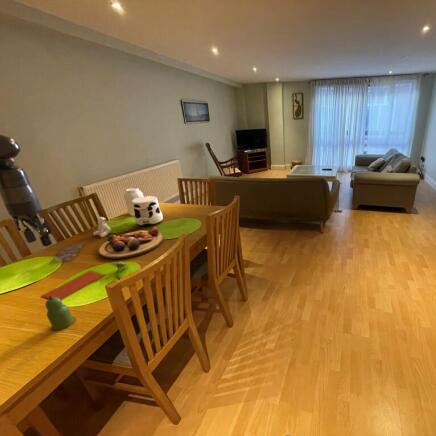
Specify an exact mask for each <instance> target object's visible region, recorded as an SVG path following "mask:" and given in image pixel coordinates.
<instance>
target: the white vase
mask: <svg viewBox="0 0 436 436" xmlns="http://www.w3.org/2000/svg"><path fill="white" fill-rule="evenodd" d="M139 197H144V193H143V192H142V191H141V190H140V189H139V188H138V187H131V188H127V189H126V190H125V193H124V194H123V198H124V202H125V205H126V208H127V212H128V215H129V216H132V217H135V212H134V209H133V205H132V200H134V199H136V198H139Z"/></svg>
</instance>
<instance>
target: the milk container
mask: <svg viewBox="0 0 436 436" xmlns="http://www.w3.org/2000/svg"><path fill="white" fill-rule="evenodd" d="M132 205H133V209H134V212H135V216H134V222H135V223H136V225H138V226H141V227H148V226H153V225H157V224H160V223H161V222H162V221H163V218H164V217H163V215H164V214H163V213H162V211H161V208H160V205H159V201H158V197H156V196H155V195H146V196H143V197H139V198H136V199H134V200H132Z"/></svg>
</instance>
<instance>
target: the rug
mask: <svg viewBox="0 0 436 436" xmlns="http://www.w3.org/2000/svg"><path fill="white" fill-rule="evenodd" d="M83 245H84V243H81V244H77V243H76V244H73V245H70V246H68V245H67V246H63V247H62V248H61V249H59V251H57V254H56V256H54V257H53V259H51V261H50V262H49V265H50V264H53V262H55V263H58V262H59V263H60V262H64V261H71V260H74V257H76V256H77V254H78V253H79V252H80V250H81V248H82V247H83ZM67 250H68V251H67Z"/></svg>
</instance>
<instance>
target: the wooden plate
mask: <svg viewBox="0 0 436 436" xmlns="http://www.w3.org/2000/svg"><path fill="white" fill-rule="evenodd" d="M162 242H163V234H161V233H160V232H159V229H158V227H156V226H154V227H151V228H150V229H149V230H136V231H131V232H128V233H124V234H123V233H122V234H119V235H116V234H110V235H107V239H106V241H105V242H103V244H101V246H100V247H99V248H98V254H99V256H100V257H103V258H104V259H108V260H121V259H128V258H132V257H137V256H140V255H143V254H146V253H148V252H150V251H152V250H153V249H155V248H157V247H159V245H160V244H161V243H162Z"/></svg>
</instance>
